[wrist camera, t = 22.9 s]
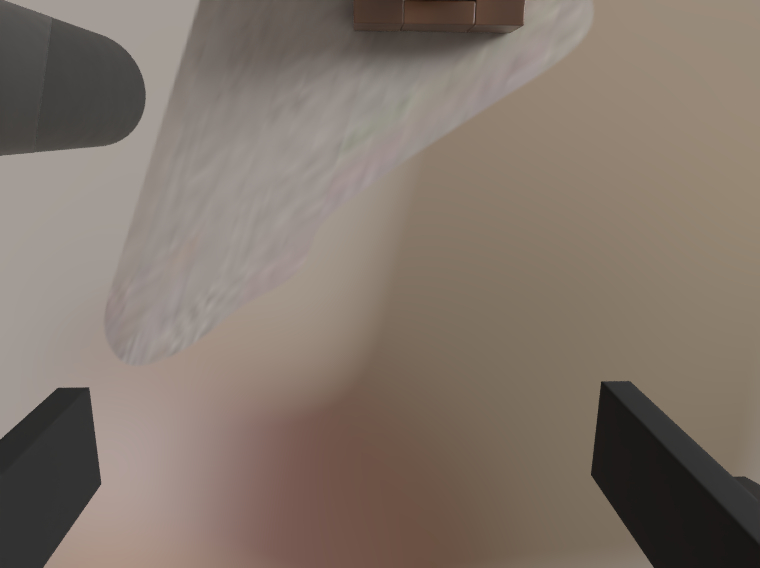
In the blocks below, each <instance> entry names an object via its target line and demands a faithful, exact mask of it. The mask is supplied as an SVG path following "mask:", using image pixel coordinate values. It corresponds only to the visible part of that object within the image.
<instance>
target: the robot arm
mask: <svg viewBox="0 0 760 568" xmlns="http://www.w3.org/2000/svg"><path fill="white" fill-rule="evenodd" d="M591 476H592V477H593V478H594V480H595V481H596V483H597V484H598V486H599V487H600V489H601V490H602V492H603V493H604V495H605V496H606V498H607V499H608V501H609V502H610V504H611V505H612V506H613V508H614V509H615V511H616V512H617V514H618V515H619V517H620V518H621V520H622V521H623V523H624V524H625V526H626V527H627V529H628V530H629V531H630V533H631V535H632V536H633V537H634V539H635V540H636V542H637V543H638V545H639V546H640V548H641V549H642V551H643V552H644V554H645V555H646V556H647V558H648V559H649V561H650V563H651V564H652V565H653V567H654V568H760V485H759V484H757V483H756V482H753V481H752V480H750V479H748V478H746V477H733V476H731V475H730V474H729V473H728V472H727V471H726V470H725V469H724V468H723V467H722V466H721V465H720V464H718V463H717V462H716V461H715V460H714V459H713V458H712V457H711V456H710V455H709V454H708V453H707V452H706V451H705V450H703V449H702V448H701V447H700V446H699V445H698V444H697V443H696V442H695V441H694V440H693V439H692V438H691V437H689V436H688V435H687V434H686V433H685V432H684V431H683V430H682V429H681V428H680V427H679V426H678V425H677V424H675V423H674V422H673V421H672V420H671V419H670V418H669V417H668V416H667V415H666V414H665V413H664V412H663V411H661V410H660V409H659V408H658V407H657V406H656V405H655V404H654V403H653V402H652V401H651V400H650V399H649V398H647V397H646V396H645V395H644V394H643V393H642V392H641V391H640V390H639V389H638V388H637V387H636V386H635V385H633V384H632V383H631V382H629V381H619V382H618V381H613V382H612V381H609V382H601V389H600V398H599V408H598V416H597V425H596V434H595V444H594V452H593V461H592V471H591ZM100 485H101V479H100V470H99V462H98V454H97V446H96V438H95V431H94V422H93V414H92V406H91V399H90V391H89V388H57V389H56V390H55V391H54V392H53V393H52V394H51V395H49V397H47V398H46V399H45V400H44V401H43V402H42V403H41V404H39V405H38V406H37V407H36V408H35V409H34V410H33V411H32V412H31V413H29V414H28V415H27V416H26V417H25V418H24V419H23V420H22V421H21V422H19V423H18V424H17V425H16V426H15V427H14V428H13V429H12V430H10V432H8V433H7V434H6V435H5V436H4V437H3V438H2V439H0V568H43V567H44V565H45V564H46V563H47V561H48V560H49V558H50V557H51V555H52V554H53V553H54V551H55V550H56V548H57V547H58V545H59V544H60V542H61V541H62V540H63V538H64V537H65V535H66V534H67V532H68V531H69V530H70V528H71V527H72V525H73V524H74V522H75V521H76V519H77V518H78V517H79V515H80V514H81V512H82V511H83V510H84V508H85V507H86V505H87V504H88V502H89V501H90V499H91V498H92V496H93V495H94V494H95V492H96V491H97V489H98V488H99V487H100Z"/></svg>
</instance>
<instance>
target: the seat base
mask: <svg viewBox="0 0 760 568" xmlns="http://www.w3.org/2000/svg"><path fill="white" fill-rule="evenodd" d="M524 11H525V0H467V1H437V0H353V16H354V31H418V32H482V33H511V32H513V31H515V30H516V29H518V28H520V27H521V26H523V25H524Z"/></svg>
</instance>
